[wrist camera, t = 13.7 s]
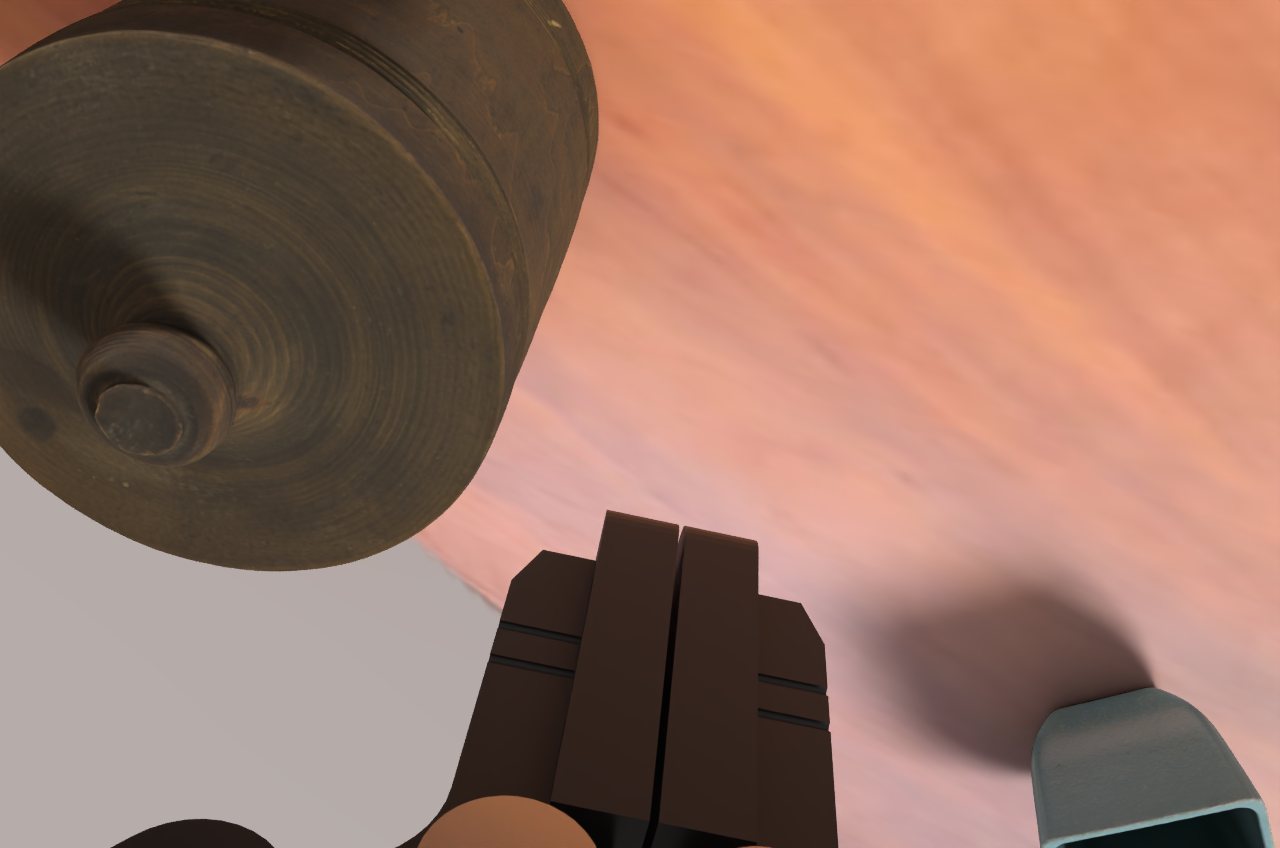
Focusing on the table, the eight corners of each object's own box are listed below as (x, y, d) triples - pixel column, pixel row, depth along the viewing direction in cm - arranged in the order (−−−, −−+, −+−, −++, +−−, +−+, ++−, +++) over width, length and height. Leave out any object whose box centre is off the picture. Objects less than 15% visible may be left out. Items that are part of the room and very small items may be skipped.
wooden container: (189, 229, 46) (-185, 583, 28) (223, -169, 39) (-264, -47, 20) (546, 335, 48) (419, 741, 29) (649, -30, 40) (566, 207, 21)
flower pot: (1192, 642, 53) (1264, 798, 45) (1227, 771, 57) (1299, 935, 49) (999, 688, 55) (1037, 844, 48) (1045, 809, 59) (1087, 971, 52)
